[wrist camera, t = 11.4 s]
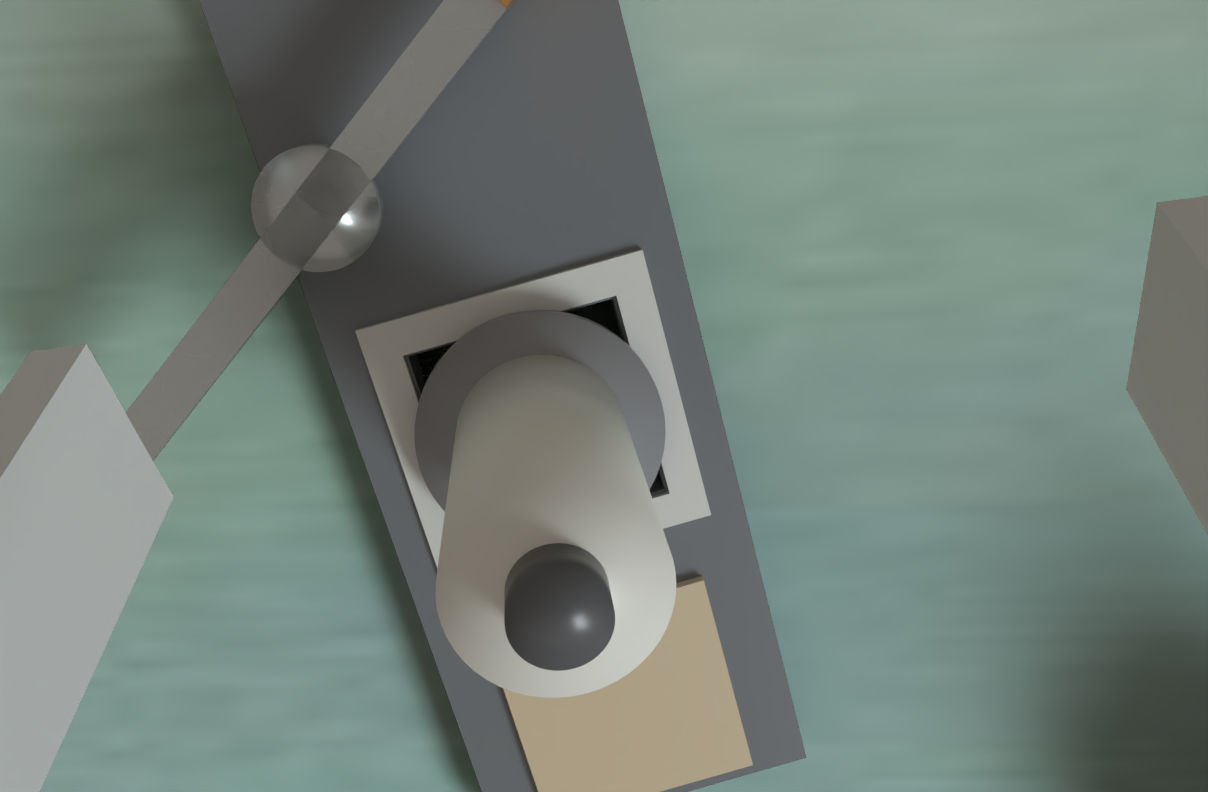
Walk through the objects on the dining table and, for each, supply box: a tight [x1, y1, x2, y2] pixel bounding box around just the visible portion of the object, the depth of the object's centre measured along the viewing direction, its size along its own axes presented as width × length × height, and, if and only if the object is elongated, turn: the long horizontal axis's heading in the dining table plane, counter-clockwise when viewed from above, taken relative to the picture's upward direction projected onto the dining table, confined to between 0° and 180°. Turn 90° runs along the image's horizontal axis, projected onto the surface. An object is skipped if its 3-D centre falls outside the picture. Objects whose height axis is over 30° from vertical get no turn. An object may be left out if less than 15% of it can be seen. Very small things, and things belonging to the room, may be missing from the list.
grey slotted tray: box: [199, 0, 806, 792], centre depth 31 cm, size 10×26×3 cm, turn 15°
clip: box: [126, 0, 516, 461], centre depth 27 cm, size 3×20×3 cm, turn 140°
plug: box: [414, 310, 676, 698], centre depth 26 cm, size 7×7×13 cm
